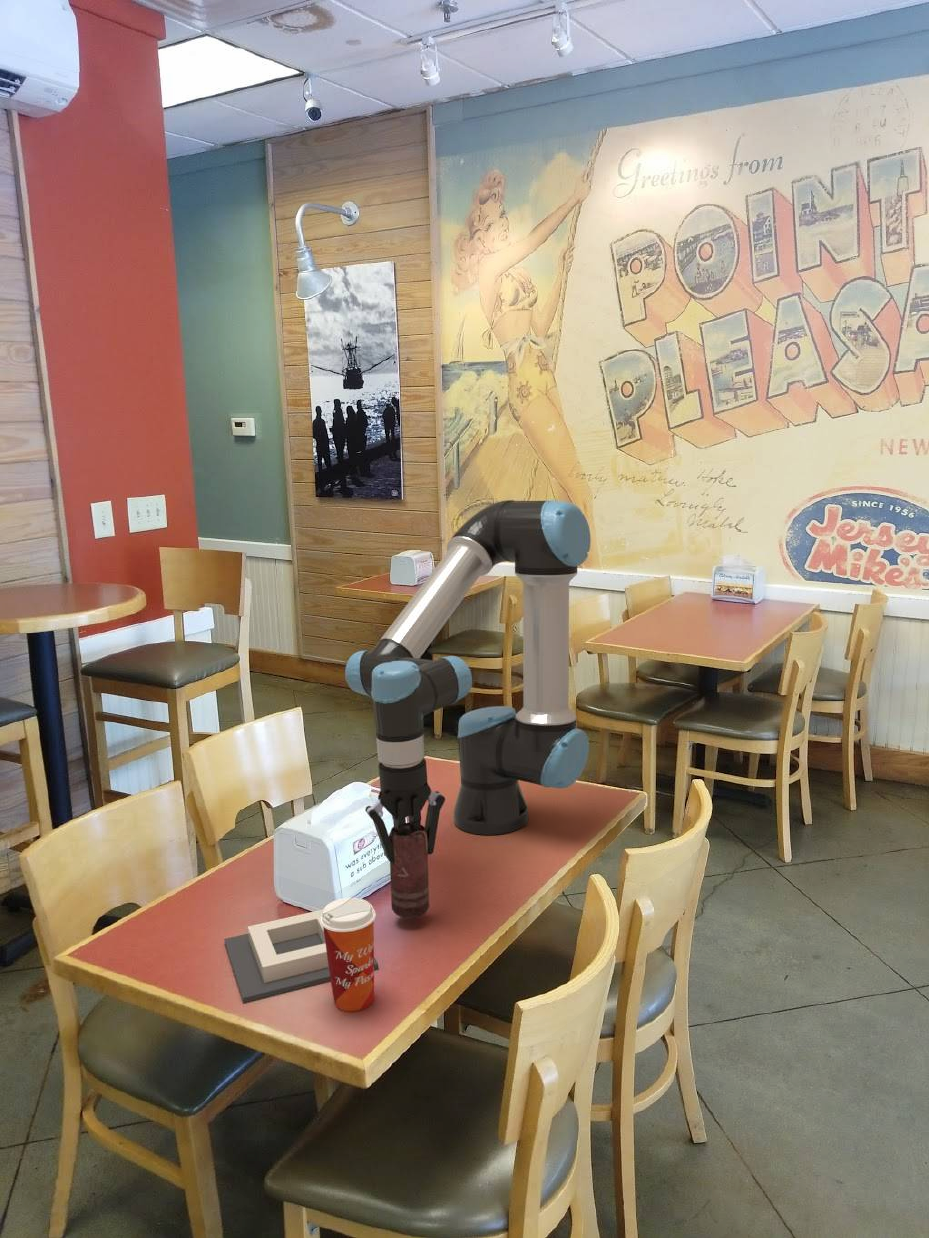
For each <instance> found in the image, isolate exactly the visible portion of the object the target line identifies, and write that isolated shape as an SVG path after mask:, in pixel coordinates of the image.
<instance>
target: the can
mask: <svg viewBox="0 0 929 1238" xmlns="http://www.w3.org/2000/svg"><path fill="white" fill-rule="evenodd" d="M405 830H406V835H402V836H399V835H397V833H396V832H395V831H394V826H392V827H391V829H390V832H389V833H388V835H389V838H390V841H391V844H392V846H393V849H394V858H395V861H394V863H390V862H389V871H390V872H389V873H390V875H389V876H390V901H391V910H392V911H393V913H394V914H395V915H396V916H398V917H401V918H406V919H410V918H411V919H413V918H418V917H421V916H424V914H426V913H427V911H428V910H429V907H430V890H429V889H430V887H429V854H428V842H427V832H426V830H425V825H423V824H421V830H418V831H415V832H413V831H412V830H411V829H410V828H409V822H406V824H405ZM411 832H413V833H411Z"/></svg>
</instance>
